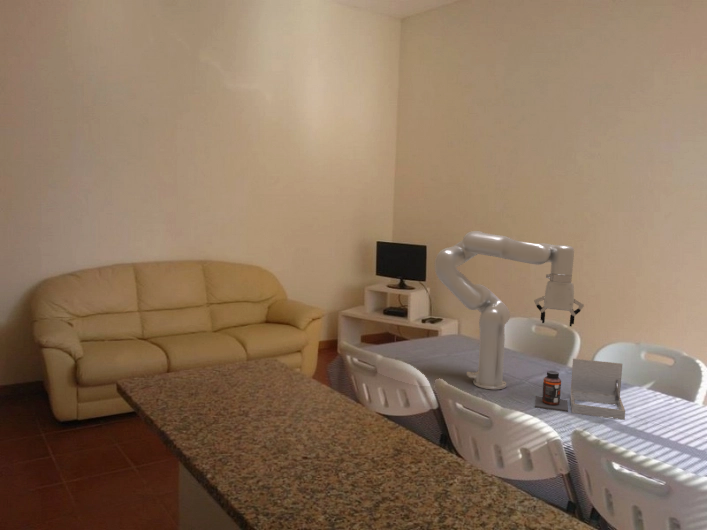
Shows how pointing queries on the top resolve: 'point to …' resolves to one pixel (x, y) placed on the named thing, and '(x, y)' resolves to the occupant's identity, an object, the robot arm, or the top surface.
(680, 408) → the top surface
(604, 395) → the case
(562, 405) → the mat
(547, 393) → the supplement bottle
